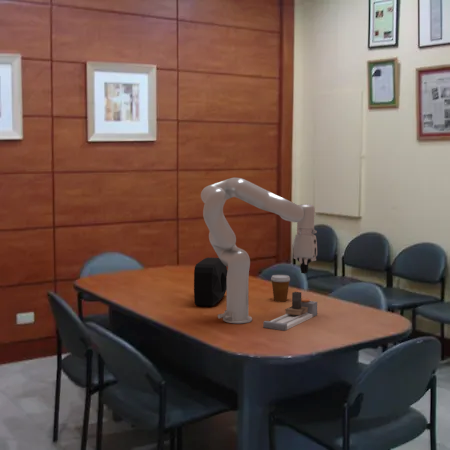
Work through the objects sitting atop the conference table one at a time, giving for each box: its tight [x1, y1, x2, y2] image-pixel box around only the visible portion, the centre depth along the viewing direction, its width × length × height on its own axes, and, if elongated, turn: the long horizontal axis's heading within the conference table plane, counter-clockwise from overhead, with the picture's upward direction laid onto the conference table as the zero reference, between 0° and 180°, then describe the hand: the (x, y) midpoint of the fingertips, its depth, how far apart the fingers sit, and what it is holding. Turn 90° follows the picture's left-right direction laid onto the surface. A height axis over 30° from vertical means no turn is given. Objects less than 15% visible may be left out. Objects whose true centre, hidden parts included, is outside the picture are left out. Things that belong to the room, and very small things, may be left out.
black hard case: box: [193, 257, 228, 307], centre depth 347 cm, size 30×12×20 cm, turn 168°
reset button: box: [301, 297, 311, 302], centre depth 319 cm, size 4×4×2 cm
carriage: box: [284, 291, 308, 316], centre depth 312 cm, size 8×7×9 cm
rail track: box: [262, 300, 318, 332], centre depth 308 cm, size 32×10×6 cm, turn 148°
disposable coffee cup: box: [270, 274, 291, 303], centre depth 349 cm, size 10×10×12 cm
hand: (304, 272), depth 318 cm, fingers closed
